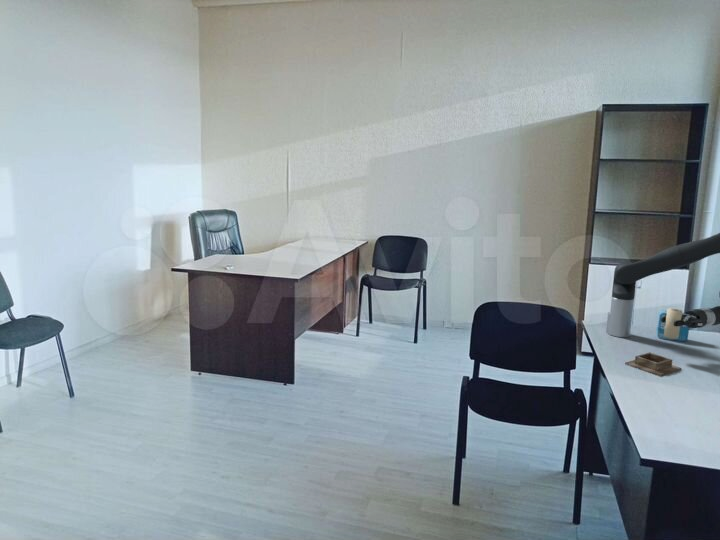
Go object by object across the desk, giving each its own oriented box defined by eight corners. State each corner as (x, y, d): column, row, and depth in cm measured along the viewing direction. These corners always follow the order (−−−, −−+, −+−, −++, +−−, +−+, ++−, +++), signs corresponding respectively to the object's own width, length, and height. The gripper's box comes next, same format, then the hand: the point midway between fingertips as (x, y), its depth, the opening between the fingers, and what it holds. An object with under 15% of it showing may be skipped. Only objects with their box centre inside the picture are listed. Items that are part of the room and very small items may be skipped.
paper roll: (660, 335, 223) (664, 309, 221) (668, 333, 226) (672, 307, 224) (673, 339, 219) (677, 312, 216) (681, 337, 221) (685, 310, 219)
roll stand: (624, 364, 218) (625, 355, 217) (646, 358, 225) (647, 349, 224) (659, 376, 206) (660, 367, 205) (681, 369, 213) (682, 360, 212)
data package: (656, 338, 250) (660, 312, 248) (655, 335, 255) (659, 309, 252) (687, 342, 246) (691, 315, 243) (686, 339, 250) (689, 313, 247)
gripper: (685, 304, 232) (654, 307, 226) (717, 314, 219) (685, 317, 213) (682, 321, 233) (651, 325, 227) (714, 332, 220) (683, 336, 214)
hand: (668, 321), depth 220 cm, fingers closed on paper roll, 5 cm apart
